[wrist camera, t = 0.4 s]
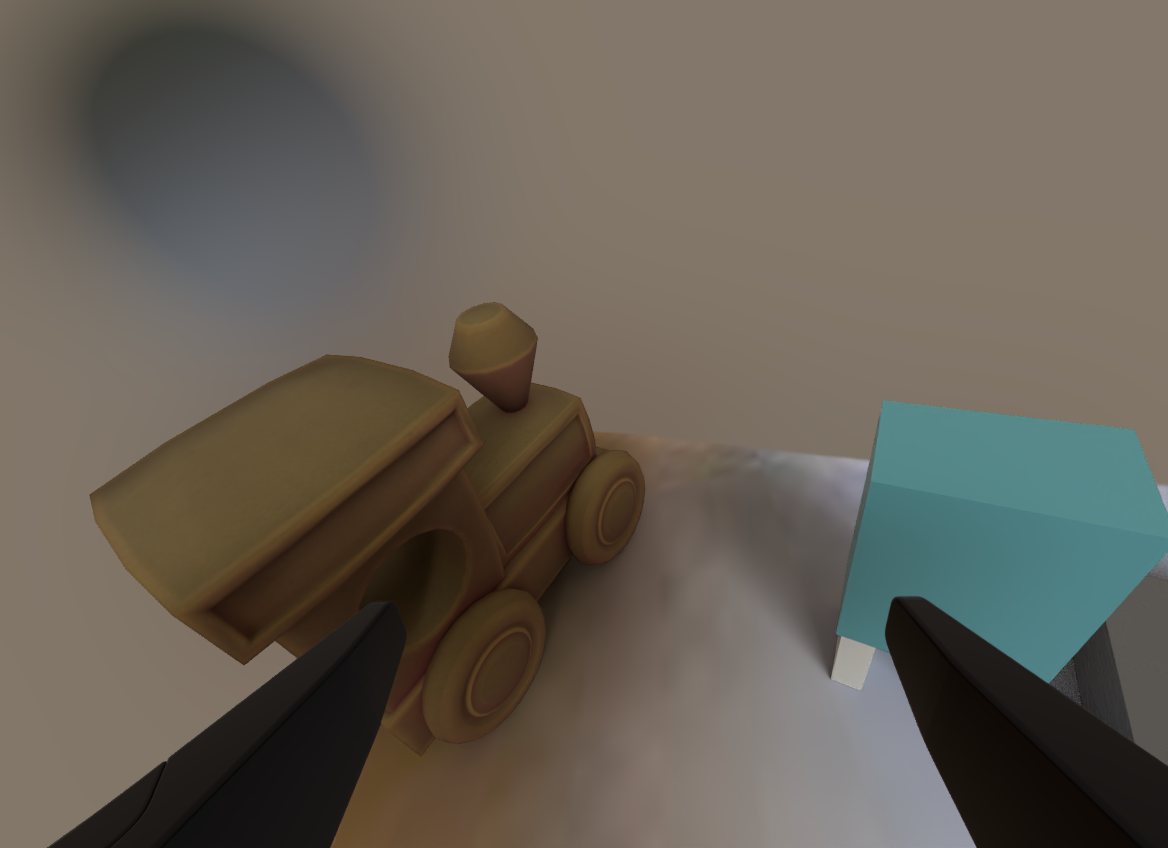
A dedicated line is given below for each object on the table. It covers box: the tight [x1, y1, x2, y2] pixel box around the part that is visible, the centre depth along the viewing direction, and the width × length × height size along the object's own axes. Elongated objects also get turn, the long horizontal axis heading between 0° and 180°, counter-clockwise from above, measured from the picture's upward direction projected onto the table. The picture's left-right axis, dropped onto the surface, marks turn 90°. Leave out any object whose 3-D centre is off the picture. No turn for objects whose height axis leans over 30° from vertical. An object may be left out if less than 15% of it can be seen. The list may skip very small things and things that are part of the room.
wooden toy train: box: [90, 302, 645, 756], centre depth 24 cm, size 20×11×17 cm, turn 145°
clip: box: [831, 401, 1168, 691], centre depth 17 cm, size 4×6×13 cm, turn 60°
